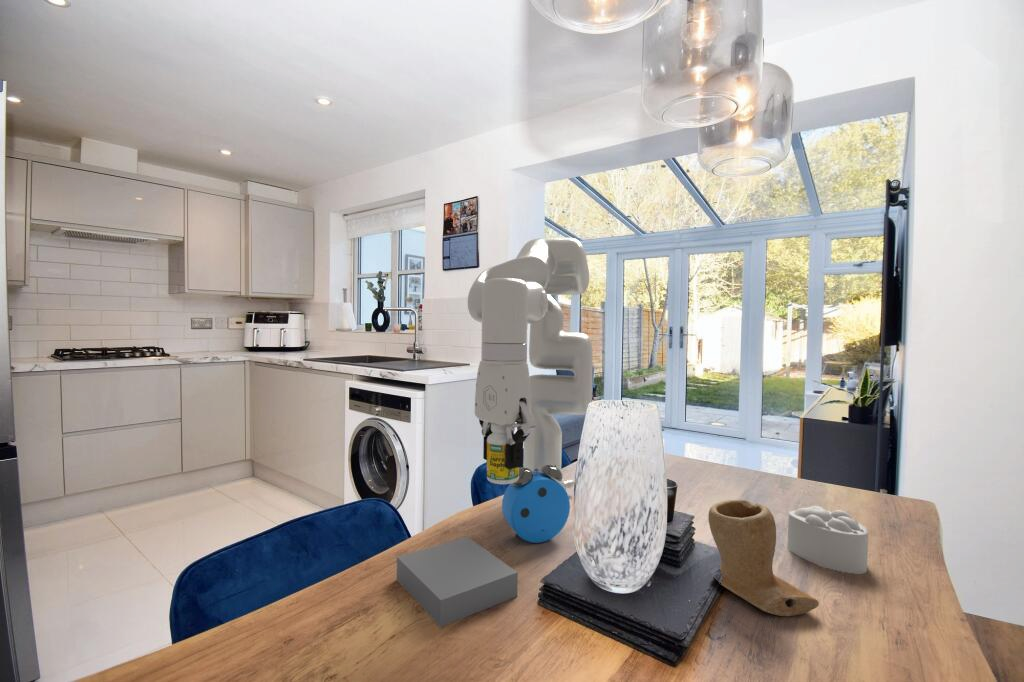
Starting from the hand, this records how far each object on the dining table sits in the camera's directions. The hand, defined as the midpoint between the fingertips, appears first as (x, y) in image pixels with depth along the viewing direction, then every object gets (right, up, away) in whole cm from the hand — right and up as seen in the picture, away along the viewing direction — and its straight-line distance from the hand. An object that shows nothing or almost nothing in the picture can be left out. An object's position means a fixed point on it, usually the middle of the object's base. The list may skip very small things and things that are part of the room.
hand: (502, 461), depth 80 cm
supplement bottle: (0, -3, 0) cm, 3 cm away
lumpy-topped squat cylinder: (+63, -22, +14) cm, 68 cm away
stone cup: (+41, -22, 0) cm, 47 cm away
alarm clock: (+6, -21, +20) cm, 30 cm away
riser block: (-8, -21, +1) cm, 23 cm away
